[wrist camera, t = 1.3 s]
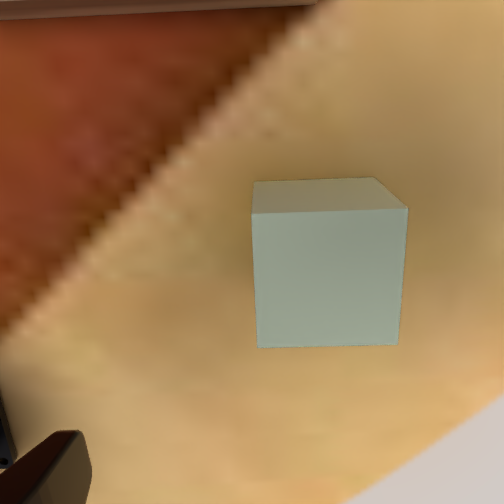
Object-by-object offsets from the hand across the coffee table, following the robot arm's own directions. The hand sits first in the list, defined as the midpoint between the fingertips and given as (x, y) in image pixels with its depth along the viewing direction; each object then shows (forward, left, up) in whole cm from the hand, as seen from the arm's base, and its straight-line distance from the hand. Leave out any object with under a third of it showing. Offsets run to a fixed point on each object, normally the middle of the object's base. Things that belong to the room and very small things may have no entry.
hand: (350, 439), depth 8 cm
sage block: (-1, -1, -13) cm, 13 cm away
